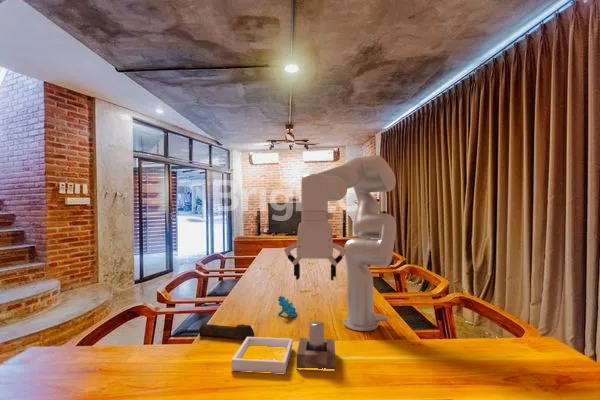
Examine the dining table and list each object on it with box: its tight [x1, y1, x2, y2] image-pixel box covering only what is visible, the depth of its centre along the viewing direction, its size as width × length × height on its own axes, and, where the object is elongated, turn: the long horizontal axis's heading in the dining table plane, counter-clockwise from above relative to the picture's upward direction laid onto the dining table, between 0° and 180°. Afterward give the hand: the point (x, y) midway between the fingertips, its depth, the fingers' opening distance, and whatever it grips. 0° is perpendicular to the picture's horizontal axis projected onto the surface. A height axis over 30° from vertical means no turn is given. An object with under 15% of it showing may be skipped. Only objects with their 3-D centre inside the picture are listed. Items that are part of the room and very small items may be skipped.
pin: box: [308, 320, 325, 351], centre depth 77 cm, size 4×4×10 cm
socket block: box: [296, 337, 336, 370], centre depth 77 cm, size 10×10×4 cm
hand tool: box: [198, 322, 255, 341], centre depth 92 cm, size 19×4×5 cm, turn 75°
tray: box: [230, 336, 294, 375], centre depth 78 cm, size 14×14×3 cm
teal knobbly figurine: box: [277, 295, 298, 318], centre depth 113 cm, size 11×6×10 cm
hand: (315, 279), depth 78 cm, fingers open, 9 cm apart
